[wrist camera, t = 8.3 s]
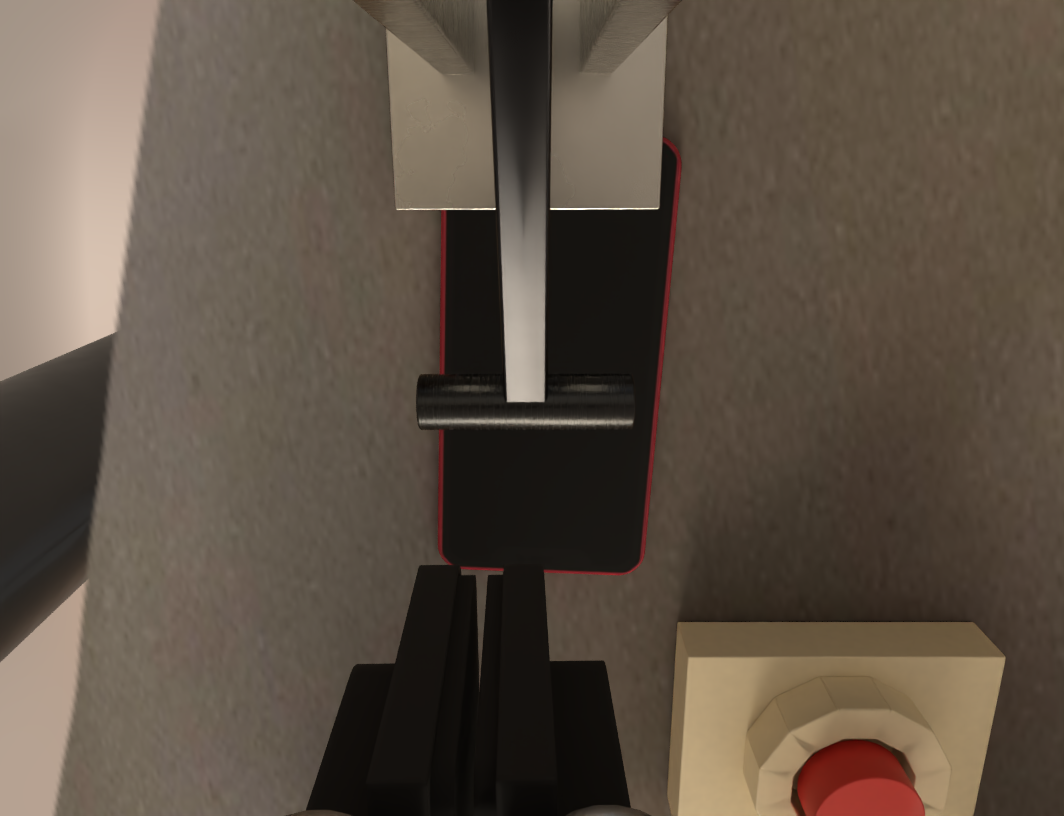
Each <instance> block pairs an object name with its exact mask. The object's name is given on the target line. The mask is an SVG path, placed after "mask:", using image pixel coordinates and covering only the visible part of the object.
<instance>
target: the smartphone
mask: <svg viewBox="0 0 1064 816" xmlns="http://www.w3.org/2000/svg"><path fill="white" fill-rule="evenodd" d="M680 179H681V157H680V154H679V151H678V150H677V148H676V147H675V145H674V144H673V143H672V142H671V141H669V140H668V139H666V138H664V137H663V146H662V169H661V192H660V208H659V209H658V210H550V258H549V335H548V374H632V375H633V378H634V383H635V402H636V403H635V421H634V426H633V428H632V429H590V430H439V483H438V550H439V553H440V555H441V557H442V559H443V560H444V561H445V562H446V563H448V564H449V565H460V567H461V569H470V570H496V571H504V564H543V565H544V572H547V573H573V574H599V575H624V574H628V573H630V572H632V571H634V570H635V569H636V568H637V567H638V566H639V565H640V564H641V562H642V561H643V558H644V554H645V545H646V535H647V524H648V514H649V503H650V493H651V482H652V472H653V461H654V451H655V440H656V430H657V420H658V409H659V399H660V388H661V378H662V367H663V357H664V346H665V336H666V325H667V315H668V304H669V294H670V283H671V273H672V262H673V252H674V241H675V231H676V221H677V210H678V200H679V189H680ZM440 374H503V369H502V346H501V324H500V301H499V279H498V256H497V234H496V211H495V210H441V295H440Z"/></svg>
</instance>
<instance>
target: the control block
mask: <svg viewBox="0 0 1064 816" xmlns="http://www.w3.org/2000/svg"><path fill="white" fill-rule="evenodd" d="M1005 659H1006V657H1005V656H1004V654H1003V653H1002V652H1001V651H1000V650H999V649H998V648H997V647H996V646H995V645H994V644H993V643H992V642H991V641H990V639H989V638H988V637H987V636H986V635H985V634H984V633H983V632H982V631H981V630H980V629H979V628H978V627H977V626H976V624H975V623H974V622H678V623H677V639H676V656H675V673H674V689H673V706H672V723H671V740H670V756H669V773H668V790H667V796H668V801H669V806H670V811H671V815H672V816H806V815H805V812H804V810H803V807H802V805H801V802H800V800H799V797H798V792H797V783H798V778H799V775H800V772H801V770H802V768H803V766H804V765H805V764H806V762H807V761H808V760H809V759H810V758H811V757H812V756H813V755H814V754H815V753H817V752H818V751H820V750H821V749H823V748H825V747H827V746H829V745H831V744H834V743H837V742H841V741H847V740H864V741H870V742H873V743H876V744H879V745H881V746H883V747H884V748H886V749H888V750H889V751H890V752H891V753H892V754H893V755H894V756H895V757H896V758H897V760H898V761H899V763H900V765H901V766H902V768H903V770H904V771H905V773H906V775H907V776H908V778H909V780H910V781H911V783H912V785H913V786H914V788H915V790H916V791H917V793H918V795H919V796H920V798H921V800H922V802H923V805H924V809H925V816H973V815H974V810H975V805H976V800H977V795H978V790H979V785H980V781H981V776H982V771H983V766H984V761H985V756H986V752H987V747H988V742H989V737H990V732H991V727H992V722H993V718H994V713H995V708H996V703H997V698H998V693H999V689H1000V684H1001V679H1002V674H1003V669H1004V664H1005Z"/></svg>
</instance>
